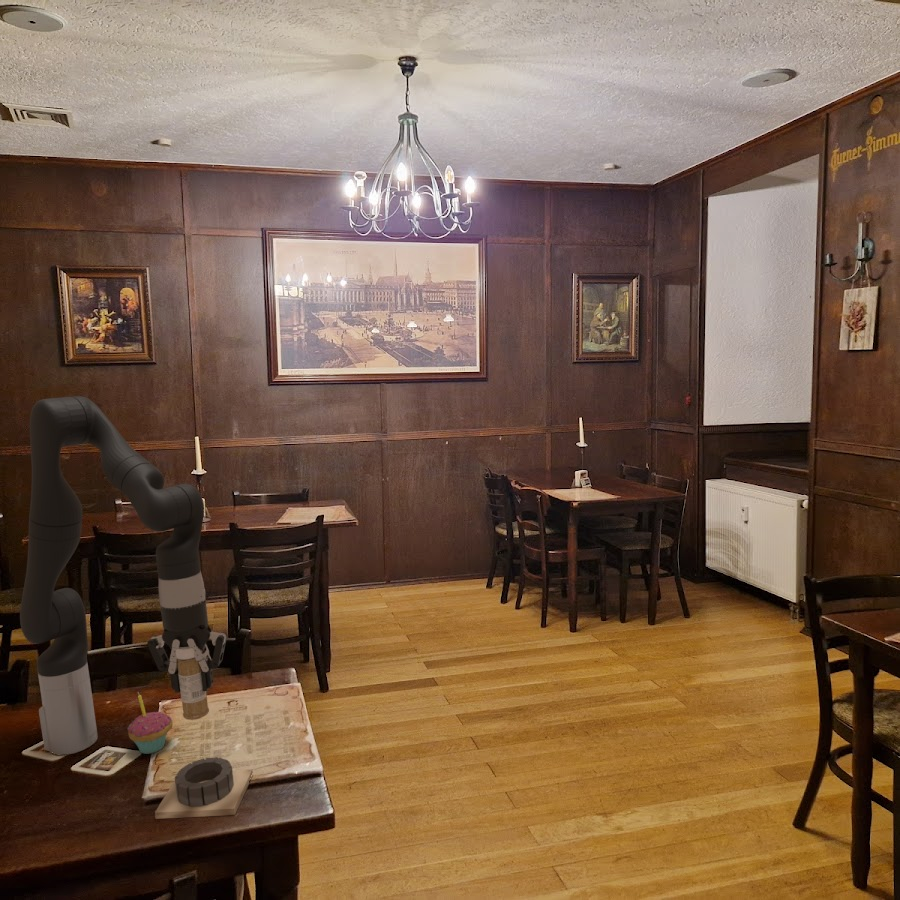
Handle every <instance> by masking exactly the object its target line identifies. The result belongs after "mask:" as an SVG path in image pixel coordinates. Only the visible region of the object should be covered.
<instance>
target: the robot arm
mask: <svg viewBox="0 0 900 900" xmlns="http://www.w3.org/2000/svg"><path fill="white" fill-rule="evenodd" d="M29 418H30V419H29V438H30V439H29V440H30V458H31V459H30V460H31V488H30V489H31V491H30V492H31V493H30V505H29V507H30V508H29V516H28V519H29V520H28V545H27V546H28V548H27V549H28V550H27V562H26V573H25V579H24V584H23V585H24V586H23V591H22V594H21V595H22V596H21V603H20V608H19V609H20V610H19V621H20V623H19V624H20V628H21V632H22V634H23V636H24V637H25V639H26V640H27V641H28V642H29V643H30V644H36V645H38V644H45V643H47V642H50V641H52V643H51V645H49V647H47V649H45V650H44V651H43V652H42V653H41V654H40V655H39V656H38V658H37V660H36V669H37V675H38V683H39V687H40V688H39V690H40V697H41V703H42V706H41V707H39V709H38V714H39V722H40V729H41V734H42V741H43V747H44V751H45V750H48V751H51V752H53V753H55V754H67V755H72V754H77V753H79V752H81V751H84V750H86V749H87V748H90V747H91V746H92V745H94V744H95V743H97V740H98V739H99V738H98V729H97V722H96V715H95V714H96V713H95V707H94V700H93V693H92V685H91V677H90V671H89V665H88V658H87V655H88V650H89V640H88V629H87V617H86V609H85V605H84V602H83V599H82V597H81V596H80V594H79V593H78V592H77V591H76V590H74V589H73V588H70V587H64V588H60V589H57V590H55V587H56V584H57V581H58V579H59V577H60V575H61V573H62V571H63V570H64V568H65V567H66V566H67V564H68V563H69V561H70V559H71V558H72V556H73V554H74V553H75V551H76V549H77V547H78V545H79V543H80V541H81V536H82V526H83V505H82V503H81V500H80V499H79V497H78V495H77V494H76V492H75V491H74V490H73V489H72V486H71V485H70V484H69V483H68V482H67V480H66V478H65V477H64V475H63V474H64V473H63V472H62V469H61V449H62V448H63V447H64V448H65V447H71V446H77V445H83V444H89V445H91V446H92V447H95V448H96V449H98V450H99V452H100V464H101V465H100V466H101V469H102V473H103V475H104V476H105V478H106V479H107V481H108V482H109V483H110V484H111V485H112V486H114V487H115V489H117V490H118V491H119V492H120V493H122V494H123V495H124V496H125V497H126V498H128V500H129V502H130V504H131V505H132V507H133V509H134V511H135V513H136V514H137V516H138V518H139V520H140V522H141V524H143V526H144V527H146V528H147V529H149V530H151V531H155V532H166V531H168V530H172V529H173V530H172V533H171V536H170V537H168V538H167V539H166V540H164V541H163V542H161V543H160V544H159V545H158V546H156V550H155V558H156V559H155V560H156V569H157V575H158V597H159V604H160V606H159V607H160V613H161V623H162V627H163V632H162V634H160V635H156V634H154V635H153V636H152V637H151V638H150V639H149V640H148V641H147V643H146V645H147V647H148V649H149V651H150V653H151V656H152V658H153V660H154V662H155V665H156V667H157V670H158V671H160V672H163V671H165V672H168V673H169V678H170V686H171V689H172V690H174V692H175V694H177V693H180V694H181V692H180V684H179V676H178V666H177V657H176V652H175V651H176V649H179V648H180V647H190V648H193V650H194V656H195V659H196V661H197V662H199V664H200V667H201V669H202V672H201V676H202V685H203V691H207V692H209V690H210V689H211V688H212V686H213V685H214V681H215V680H214V674H213V673H214V672H213V669H217V668H218V667H219V666H220V664H221V663H222V662H223V659H224V658H223V657H224V654H225V647H226V643H227V637H228V633H227V632H226V631H221V632H217V631H213V630H212V628H211V627H210V625H209V619H208V618H209V617H208V616H209V615H208V609H207V601H206V600H207V599H206V589H205V583H204V579H203V575H202V569H201V562H200V561H201V560H200V553H199V547H200V541H201V534H202V530H203V529H202V528H203V524H204V523H203V522H204V515H205V514H204V513H205V503H204V499H203V497H202V494H201V493H200V491H199V490H198V489H197V488H196V487H195V486H194V485H192V484H189V483H181V484H176V485H173V486H169V487H165V488H164V485H165V477H164V475H163V473H162V472H161V471H160V469H158V468H157V467H156V466H155V465H154V464H152V463H151V462H150V461H149V460H147V459H146V458H145V457H144V456H142V455H141V454H140V453H139V452H137V451H136V450H135V449H134V448H133V447H132V446H131V445H130V443H129V442H127V440H126V439H125V438H124V437H123V436H122V435H121V433H120V432H119V431H118V429H117V428H116V427H115V425H114V424H113V423H112V422H111V421H110V420H109V418H108V417H107V416H106V415H105V413H104V412H103V411H102V410H101V409H100V408H99V407H98V405H97V404H95V402H93V401H92V400H91V399H89V398H88V397H85V396H78V395H77V396H75V395H74V396H65V397H51V398H44V399H40V400H38V401H36V402H35V403H34V405H33V406H32V409H31V411H30V417H29ZM209 639H210V640H211V642H212V645H213V646H214V649H213V654H212V657H211V655H210V650H209V648H208V645H207V643H208V641H209ZM165 644H166V645H167V646H168V647H169V649H170V650H171V651H170V652H171V653H170V655H169V657H168V654H167V651H166V650H165V647H164V645H165ZM195 650H196V651H195ZM201 650H202V653H201ZM51 752H50V753H51ZM55 754H54V755H55Z"/></svg>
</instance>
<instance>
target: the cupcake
mask: <svg viewBox="0 0 900 900" xmlns="http://www.w3.org/2000/svg"><path fill="white" fill-rule="evenodd" d="M137 694H138V696H137V698H138V703H139V706H140V710H141V715H138V716H137V717H135V718H134V720H132V721H131V723H130V724H128V727H127V732H128V738H129V739H130V740H131V741H133V743H135V745H136V746H137V748H138V750H139V752H140V753H142V754H144V755H145V754H148V755H150V754H154V753H157V752H159V751H160V750H162V749H163V748H164V747H165V742H166V738H167V735H168V733H169V732H170V730H171V729H172V728H173V725H174V724H173V720H172V718H171V716H170V715H168V714H167V713H163V712H161V711H151V712H146V708H145V705H144V704H145V703H144V701H143V697H142V695H141V694H140V693H139V691H137Z"/></svg>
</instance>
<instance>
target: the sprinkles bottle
mask: <svg viewBox="0 0 900 900" xmlns="http://www.w3.org/2000/svg"><path fill="white" fill-rule="evenodd" d="M195 651H196V650H195ZM175 652H176V657H177V666H178V676H179V684H180V699H181V703H182V711H183V712H182V716H183V718H184V719H185V720H188V721H189V720H190V721H194V720H199V719H202V718H204V717H206V716H207V715H208V713H210V708H209V705H208V696H207V692H208V691H203V685H202V676H201V672H202V669H201V667H200V664H199V662H197V661H196V659H195V656H194V650H193V648H190V647H180V648H179V649H176V651H175ZM201 653H202V650H201Z"/></svg>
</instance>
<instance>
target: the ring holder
mask: <svg viewBox="0 0 900 900" xmlns="http://www.w3.org/2000/svg"><path fill="white" fill-rule="evenodd" d="M252 773H254V772H253V769H252V768H250V769H233V766H232V764H231V763H230V761H229V760H228V759H225V758H222V757H217V756H216V757H205V758H202V759H197V760H195V761H192V762H190V763H188V764H186V765H184V766H183V767H181V768H180V770H178V772H177V774H176V775H175V777H174V781H173V783H172V784H171V786H170V788H169V789H168V791H167V792H166V794H165V795H164V797H163V798H162V800H161V802H160V803H159V805H158V807H157V808H156V810H155V811H154V817H155V819H156V820H157V819H158V820H159V819H161V820H162V819H179V818H181V819H182V818H197V817H198V818H201V817H219V816H221V817H222V816H223V817H224V816H235V815H236V813H237V811H238V809H239V807H240V805H241V802H242V800H243V798H244V796H245V793H246V791H247V789H248V787H249V785H250V783H249V780H250V778H251V775H252ZM251 779H252V778H251Z"/></svg>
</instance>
